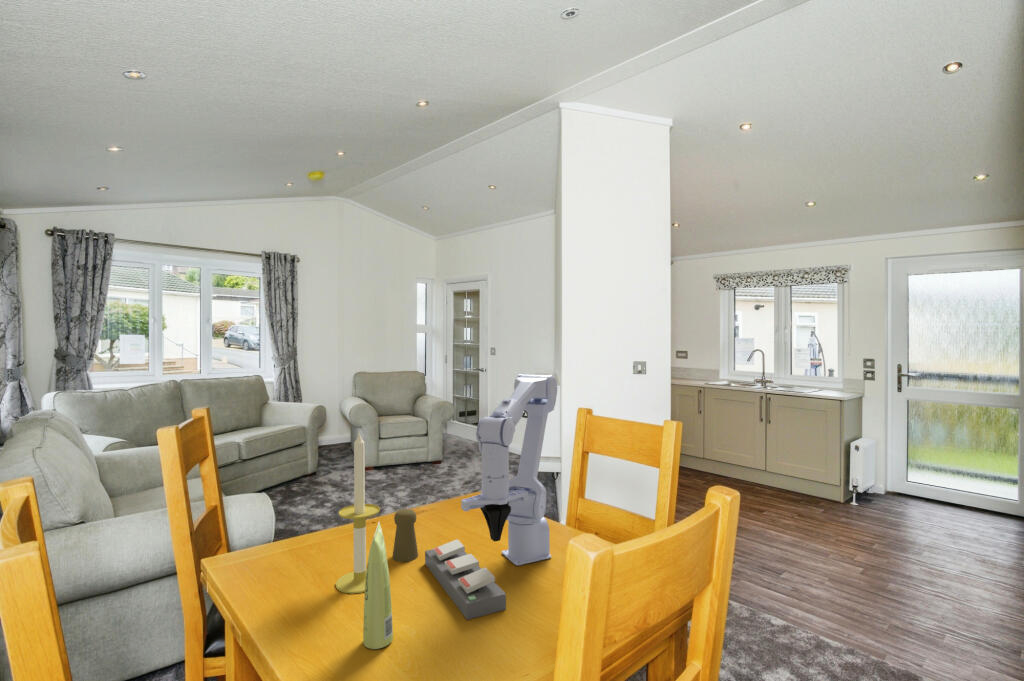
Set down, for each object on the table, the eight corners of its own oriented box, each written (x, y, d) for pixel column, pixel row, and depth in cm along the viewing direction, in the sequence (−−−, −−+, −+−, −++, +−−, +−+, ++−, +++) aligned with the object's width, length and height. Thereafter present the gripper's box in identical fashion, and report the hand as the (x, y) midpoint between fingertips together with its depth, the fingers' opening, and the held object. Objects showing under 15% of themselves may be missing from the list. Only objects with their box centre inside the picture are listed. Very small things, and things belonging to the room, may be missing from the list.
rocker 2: (471, 557, 110) (470, 552, 110) (479, 566, 106) (478, 560, 106) (445, 566, 107) (444, 560, 107) (452, 574, 104) (451, 569, 104)
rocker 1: (458, 543, 117) (457, 538, 117) (465, 550, 113) (464, 545, 113) (433, 553, 115) (432, 548, 115) (439, 560, 111) (439, 555, 111)
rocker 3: (486, 571, 103) (485, 566, 103) (495, 580, 99) (494, 575, 99) (458, 583, 100) (457, 578, 100) (467, 593, 96) (466, 588, 96)
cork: (412, 563, 117) (412, 515, 117) (388, 560, 118) (387, 513, 118) (422, 552, 123) (422, 507, 123) (398, 550, 124) (398, 505, 124)
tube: (355, 641, 87) (354, 528, 87) (380, 628, 91) (379, 520, 91) (374, 654, 83) (373, 536, 83) (399, 640, 87) (399, 527, 87)
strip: (457, 556, 120) (457, 541, 120) (505, 609, 97) (505, 590, 97) (425, 563, 117) (425, 547, 117) (467, 620, 93) (467, 600, 93)
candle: (393, 577, 110) (393, 428, 110) (360, 598, 101) (359, 436, 101) (359, 567, 115) (359, 424, 115) (324, 586, 106) (323, 432, 106)
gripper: (470, 484, 99) (470, 553, 99) (534, 474, 106) (534, 539, 106) (457, 475, 105) (457, 540, 105) (519, 467, 112) (519, 528, 112)
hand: (495, 539), depth 106 cm, fingers closed
